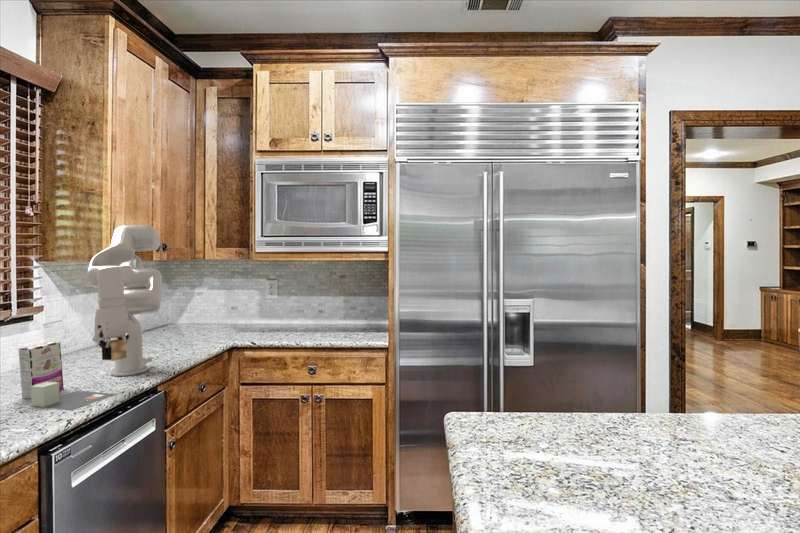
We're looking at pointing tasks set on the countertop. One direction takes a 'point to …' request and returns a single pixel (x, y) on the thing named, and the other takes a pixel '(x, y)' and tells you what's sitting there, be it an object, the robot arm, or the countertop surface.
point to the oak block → (117, 349)
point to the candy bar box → (40, 366)
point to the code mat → (77, 400)
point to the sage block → (45, 394)
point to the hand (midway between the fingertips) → (114, 356)
